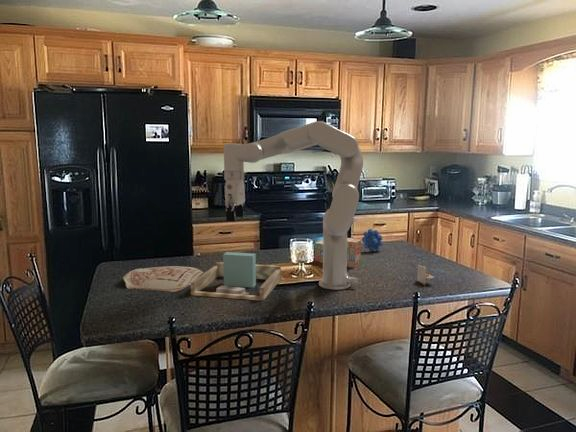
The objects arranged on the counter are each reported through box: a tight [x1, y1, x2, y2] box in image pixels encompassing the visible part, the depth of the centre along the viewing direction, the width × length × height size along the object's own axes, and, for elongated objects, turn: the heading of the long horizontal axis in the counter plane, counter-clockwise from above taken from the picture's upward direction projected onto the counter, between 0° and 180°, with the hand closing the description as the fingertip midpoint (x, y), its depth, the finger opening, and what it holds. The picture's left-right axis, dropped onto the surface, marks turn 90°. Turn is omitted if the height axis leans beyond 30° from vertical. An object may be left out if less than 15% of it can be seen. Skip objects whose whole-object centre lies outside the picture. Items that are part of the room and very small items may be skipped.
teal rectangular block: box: [222, 251, 257, 288], centre depth 192 cm, size 12×4×14 cm, turn 77°
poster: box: [122, 265, 205, 293], centre depth 204 cm, size 28×6×30 cm
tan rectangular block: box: [314, 237, 362, 269], centre depth 229 cm, size 21×6×12 cm, turn 58°
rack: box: [190, 261, 282, 302], centre depth 190 cm, size 28×27×7 cm
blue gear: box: [361, 228, 384, 252], centre depth 250 cm, size 12×7×12 cm, turn 105°
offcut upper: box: [216, 285, 246, 295], centre depth 182 cm, size 10×4×2 cm, turn 72°
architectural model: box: [417, 264, 435, 285], centre depth 199 cm, size 3×7×7 cm, turn 18°
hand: (235, 219), depth 192 cm, fingers open, 9 cm apart
